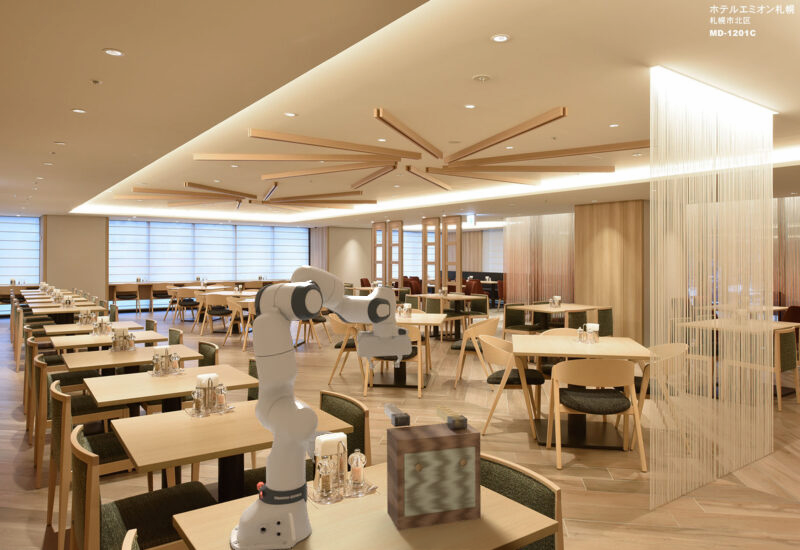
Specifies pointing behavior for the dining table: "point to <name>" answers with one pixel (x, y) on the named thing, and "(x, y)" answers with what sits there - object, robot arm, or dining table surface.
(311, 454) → the teacup
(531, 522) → the dining table surface
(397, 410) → the steel handle
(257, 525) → the robot arm
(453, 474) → the wooden box
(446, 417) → the brass handle
